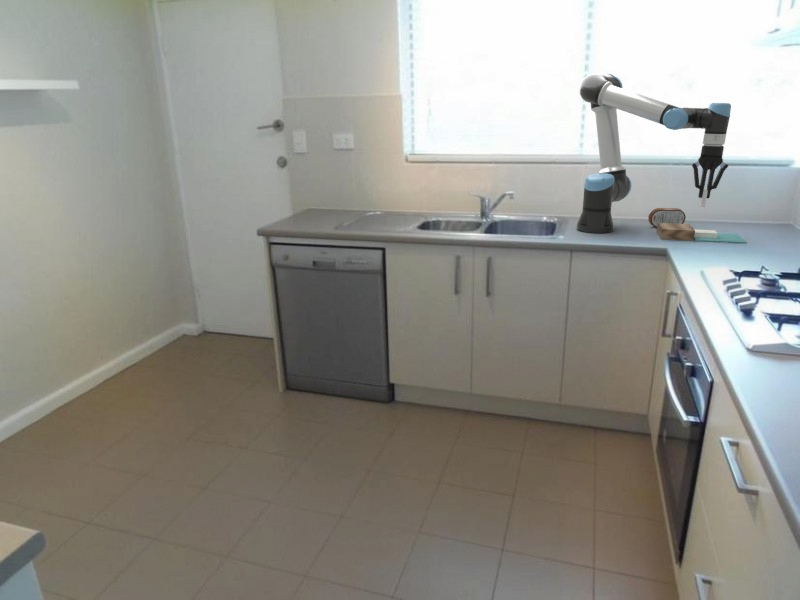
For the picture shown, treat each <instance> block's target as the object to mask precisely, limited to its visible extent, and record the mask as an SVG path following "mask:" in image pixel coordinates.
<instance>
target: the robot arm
mask: <svg viewBox="0 0 800 600" xmlns="http://www.w3.org/2000/svg"><path fill="white" fill-rule="evenodd" d="M578 89H579V91H578V92H579V94H580V98H581V99H582V100H583V101H585V102H586V103H589V104H590V110H591V111H592V112H594V113H595V124H596V134H597V144H598V153H599V154H598V155H599V162H600V170H599V171H598V172H597V173H592V174H590V175H589V174H588V175H587V176H586V177H585V181H584V185H583V187H584V190H583V199H582V211H581V214H580V216H579V218H578V220H577V223H576V230H577V231H579V232H585V233H590V234H591V233H594V234H605V233H612V232H613V231H614V227H615V226H614V220H613V217H612V203H614V202H616V203H617V202H620V201H621V200H623V199H625V198H627V196H629V194H630V192H631V189H632V181H631V179H630V177H629V176H628V175H627V170H626V168H625V166H623V165H622V156H621V146H620V145H621V144H620V136H619V135H620V134H619V125H618V124H619V123H618V114H617V110H620V111H622V112H626V113H628V114H632V115H634V116H637V117H640V118H642V119H645V120H648V121H651V122H654V123H656V124H659V125H662V126H665V128H667V129H669V130H673V131H677V130H683V129H684V130H685V129H701V130H702V129H703V130H704V132H703V133H704V134H703V140H702V144H703V145H702V146H701V151H700V156H699V158H698V159H697V161H695V162H692V163H691V167H692V169H693V180H694V187H695V188H696V189H698V190H699V191H698V199H700V202H699V207H701V208H705V207H706V203H707V199H710V197H711V191H712V190H716V189H717V188H718V186H719V183H720V181H721V179H722V178H723V174H724V172H725V170H727V168H729V164H727V163H725V162H724V158H723V154H724V149H725V147H724V145H725V143H726V138H727V132H728V127H729V122H730V117H731V109H732V105H731V104H730V103H728V102H711V103H709V105H708V107H704V108H703V107H702V108H701V107H679V106H675V105H672V104H670V103H666V102H664V101H660V100H657V99H654V98H652V97H648V96H645V95H643V94H639V93H636V92H633V91H631V90H628V89H627V90H626V89H625V88H623V82H622V81H621V79H620V78H619V77H618V76H616V75H614V74H611V73H595V72H594V73H591V74H588V75H587V76H585V77H584V78H583V79H582V80H581V82H580V85H579V88H578ZM699 165H700V166H701V169H702V171H701V177H700V176H699ZM719 166H720V168H719ZM718 168H719V170H718V172H717V175H716V177H715V179H714V176H715V172H716V169H718ZM708 170H709V173H708ZM707 174H708V175H707ZM707 176H708V179H707ZM706 181H707V184H706ZM705 186H706V188H705Z"/></svg>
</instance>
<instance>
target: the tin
mask: <svg viewBox="0 0 800 600" xmlns="http://www.w3.org/2000/svg"><path fill="white" fill-rule="evenodd" d="M685 221H686V214H685V212H684V211H683V210H682V209H681V208H678V207H675V208H674V207H658V208H657V207H656V208H654V209H652V210H651V212H650V213H649V214H648V222H649V224H650V225H651V226H653V227H655V228H657V226H658V223H676V224H685Z"/></svg>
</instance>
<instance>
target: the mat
mask: <svg viewBox="0 0 800 600" xmlns="http://www.w3.org/2000/svg"><path fill="white" fill-rule="evenodd" d="M717 233H718V237H717V238H701V237H694V241H695V242H700V241H703V242H704V243H720V242H726V244H741V243H748V241H746V240H745V239H744V238H743V237H742V236H741V235H739V234H738V233H731V232H730V233H726V232H717ZM703 242H702V243H703ZM727 242H728V243H727Z"/></svg>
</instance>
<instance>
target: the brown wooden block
mask: <svg viewBox="0 0 800 600" xmlns="http://www.w3.org/2000/svg"><path fill="white" fill-rule="evenodd" d="M694 229H695V228H693V226H692V225H691V224H690V223H683V224H676V223H658V226H657V227H656V234H657V235H658V237H659V239H660V238H661V239H660V240H669V239H672V240H673V239H674V240H675V241H690V240H694V234H695V230H694ZM672 240H671V241H672ZM674 240H673V241H674ZM694 241H695V240H694Z"/></svg>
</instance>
